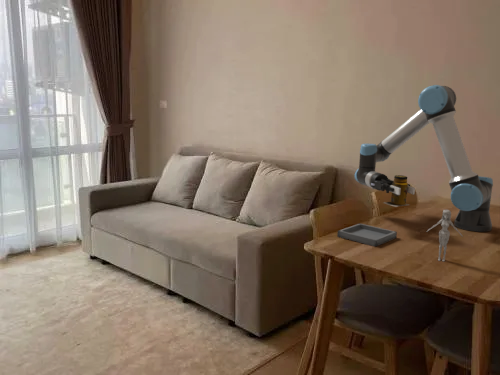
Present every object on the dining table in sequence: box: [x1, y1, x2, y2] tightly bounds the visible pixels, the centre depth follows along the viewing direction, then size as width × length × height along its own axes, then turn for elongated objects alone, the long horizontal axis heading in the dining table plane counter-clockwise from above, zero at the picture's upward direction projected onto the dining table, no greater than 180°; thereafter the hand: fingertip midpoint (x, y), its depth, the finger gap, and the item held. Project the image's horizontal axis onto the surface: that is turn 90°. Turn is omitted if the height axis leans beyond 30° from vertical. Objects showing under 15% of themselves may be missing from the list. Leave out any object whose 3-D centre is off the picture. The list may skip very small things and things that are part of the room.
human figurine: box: [427, 209, 464, 262], centre depth 170 cm, size 12×4×18 cm, turn 64°
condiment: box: [382, 174, 410, 208], centre depth 203 cm, size 7×8×12 cm
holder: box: [337, 223, 398, 247], centre depth 196 cm, size 17×17×2 cm
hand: (406, 191), depth 198 cm, fingers closed on condiment, 6 cm apart
